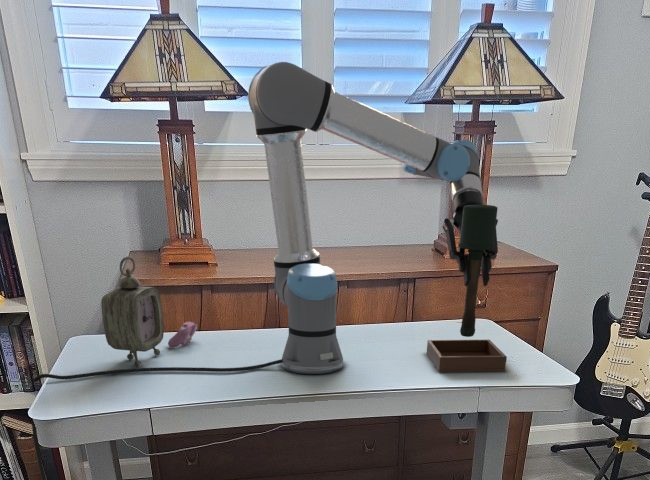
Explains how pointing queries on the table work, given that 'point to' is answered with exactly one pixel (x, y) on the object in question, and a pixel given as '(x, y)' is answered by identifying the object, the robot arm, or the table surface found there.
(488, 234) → the potato masher grenade
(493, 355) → the holder
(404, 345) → the table surface
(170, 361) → the table surface
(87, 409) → the table surface
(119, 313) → the tabletop clock
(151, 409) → the table surface
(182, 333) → the pink toy shoe
